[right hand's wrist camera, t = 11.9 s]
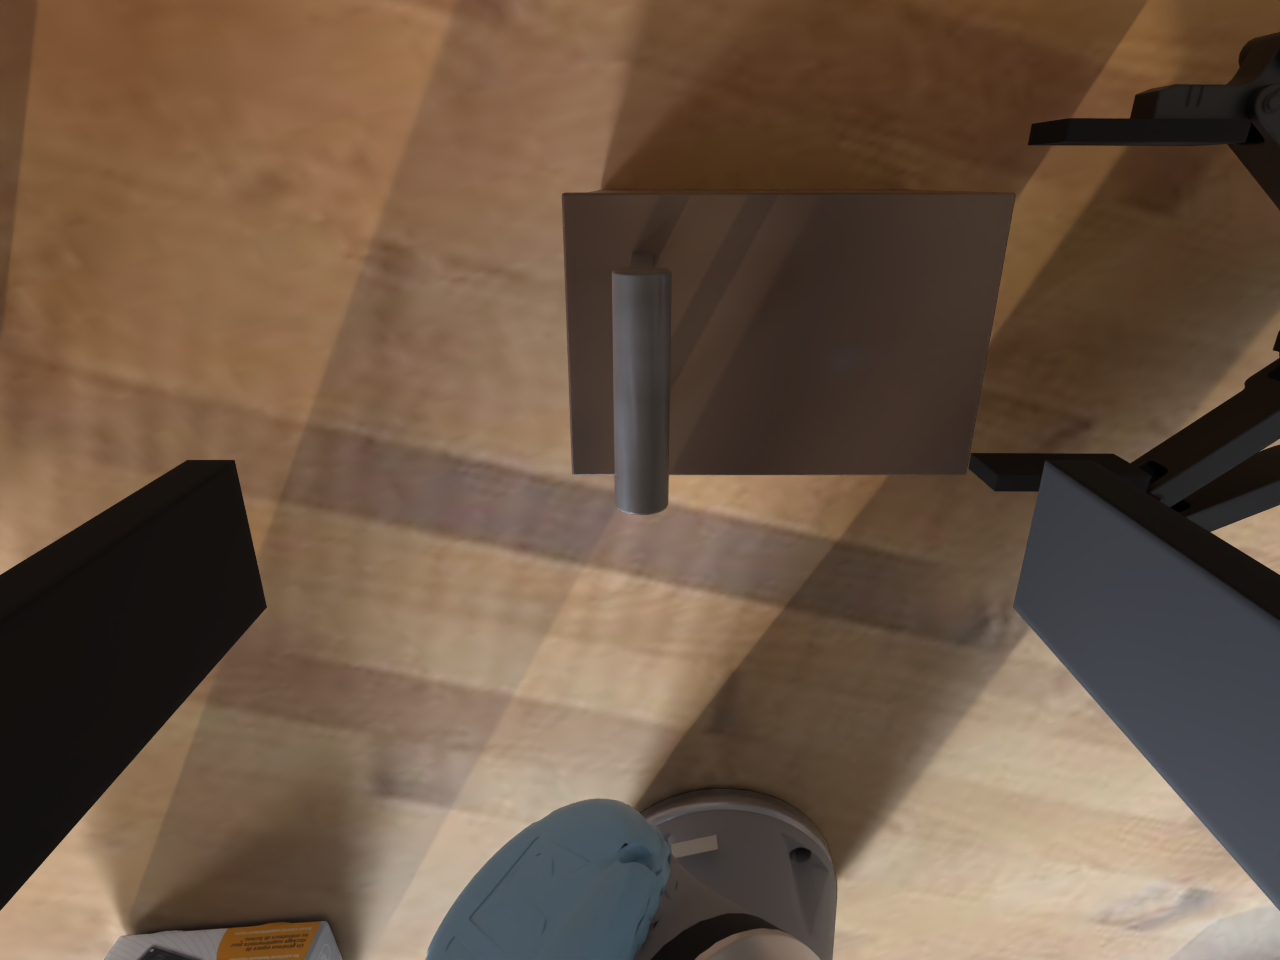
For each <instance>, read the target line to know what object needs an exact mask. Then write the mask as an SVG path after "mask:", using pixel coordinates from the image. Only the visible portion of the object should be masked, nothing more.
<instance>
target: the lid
mask: <svg viewBox="0 0 1280 960" xmlns="http://www.w3.org/2000/svg"><path fill="white" fill-rule="evenodd" d="M1014 201H1015V194H1014V193H563V194H562V212H563V239H564V266H565V293H566V320H567V347H568V374H569V401H570V428H571V455H572V474H573V475H615V504H616V507H617V508H618V509H619V510H621V511H623V512H625V513H629V514H634V515H649V514H655V513H658V512H661V511H663V510H664V509H665V508H666V507H667V505H668V488H669V475H966V471H967V466H968V460H969V454H970V449H971V443H972V437H973V432H974V426H975V421H976V415H977V409H978V404H979V398H980V392H981V387H982V381H983V375H984V370H985V364H986V359H987V353H988V347H989V342H990V336H991V330H992V325H993V319H994V313H995V308H996V302H997V297H998V291H999V285H1000V280H1001V274H1002V268H1003V263H1004V257H1005V251H1006V246H1007V240H1008V235H1009V229H1010V223H1011V218H1012V212H1013V206H1014Z"/></svg>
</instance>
